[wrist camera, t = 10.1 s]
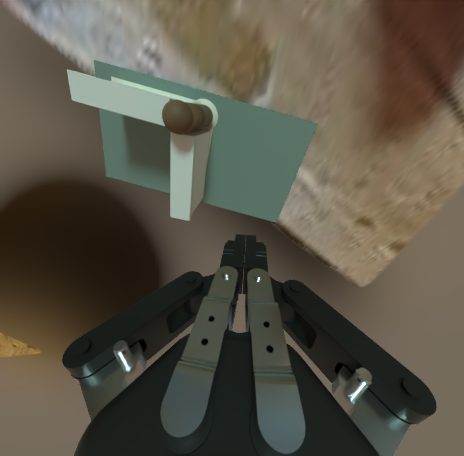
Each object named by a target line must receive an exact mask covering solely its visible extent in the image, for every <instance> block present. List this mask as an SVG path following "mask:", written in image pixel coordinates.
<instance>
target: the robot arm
mask: <svg viewBox="0 0 464 456" xmlns="http://www.w3.org/2000/svg"><path fill="white" fill-rule="evenodd" d="M245 237H246V250H245ZM244 254H245V263H244ZM243 268H244V280H243ZM242 282H243V294H246V297H245V298H246V299H245V317H246V318H245V321H246V332H244V333H236V332H233V331H232V328H233V322H234V317H235V312H236V311H235V310H236V306H237V301H238V294H241V293H242ZM192 323H194V325H193V328H192V331H191V333H190V334H188V335H186V336H184V337H183V338H181V339H180V340H179V341H178V342H177V343H175V344H174V345H173V346H172V347H171V348H170V349H169V350H168V351H166V352H165V353H164V354H163V355H162V356H161V357H160V358H159V359H157V360H156V361H155V362H154V363H153V364H152V365H151V366H150V367H148V368H147V369H146V370H145V368H146V363H147V362H146V361H147V360H149V359H150V358H151V357H152V356H153V355H155V354H156V353H157V352H158V351H159V350H161V349H162V348H163V347H164V346H166V345H167V344H168V343H169V342H171V341H172V340H173V339H174V338H175V337H177V336H178V335H179V334H180V333H182V332H183V331H184V330H185V329H186V328H187V327H189V326H190V325H191V324H192ZM283 329H284V330H285V331H286V332H287V333H288V334H289V335H290V337H291V338H292V339H293V340H294V341H295V342H296V343H297V344H298V346H299V347H300V348H301V349H302V350H303V351H304V352H305V353H306V355H307V356H308V357H309V358H310V359H311V360H312V361H313V362H314V363H315V365H316V366H317V367H318V368H319V369H320V370H321V372H322V373H323V374H324V375H325V376H326V377H327V378H328V379H329V381H330V382H331V383H332V392H333V395H334V397H333V396H332V394H331V393H330V392H329V391H328V390H327V388H326V387H325V386H324V385H323V384H322V382H321V381H320V380H319V379H318V377H317V376H316V375H315V374H314V372H313V371H312V370H311V369H310V367H309V366H308V365H307V364H306V362H305V361H304V360H303V359H302V358H301V356H300V355H299V354H298V353H297V352H296V351H295V350H294V349H293V348H292V347H291V346H290V345H288V344H287V343H286V340H285V335H284V330H283ZM62 362H63V364H64V366H65V367H66V368H67V369H68V371H70V373H71V376H72V377H73V378H74V379H75V380H76V381H77V383H79V385H80V386H81V389H82V393H83V396H84V399H85V402H86V405H87V408H88V412H89V415H90V418H91V423H90V424H89V425H88V427H87V429H86V430H85V432H84V434H83V435H82V437H81V439H80V441H79V444H78V446H77V449H76V451H75V454H74V456H393V454H394V452H395V451H396V449H397V447H398V445H399V444H400V442H401V440H402V439H403V437H404V435H405V433H406V432H407V431H408V430H409V429H411V428H412V427H414V426H415V425H417V424H419V423H420V422H421V421H423V420H425V419H426V418H428V417H429V416H431V415H432V414H434V413H435V411H436V401H435V399H434V396H433V394H432V393H431V391H430V390H429V388H428V387H427V386H426V385H425V384H424V383H423V382H422V381H421V380H420V379H419V378H418V377H417V376H415V375H414V374H413V373H412V372H410V371H409V370H408V369H407V368H406V367H404V366H403V365H402V364H401V363H399V362H398V361H397V360H396V359H395V358H393V357H392V356H391V355H390V354H388V353H387V352H386V351H385V350H383V349H382V348H381V347H380V346H379V345H378V344H376V343H375V342H374V341H373V340H371V339H370V338H369V337H368V336H366V335H365V334H364V333H363V332H362V331H360V330H359V329H357V327H355V326H354V325H353V324H352V323H351V322H349V321H348V320H347V319H346V318H344V317H343V316H342V315H341V314H340V313H338V312H337V311H336V310H335V309H333V308H332V307H331V306H330V305H328V304H327V303H326V302H325V301H324V300H322V299H321V298H320V297H319V296H318V295H316V294H315V293H314V292H313V291H311V290H310V289H309V288H308V287H307V286H305V285H304V284H303V283H301V282H299V281H296V280H288V281H286V282H285V283H281V282H278V281H276V280H274V279H273V278H271V277H270V275H269V274H268V266H267V253H266V247H265V245H264V244H263V243H259V242H256V235H240V234H236V238H235V241H230V240H228V242H227V243H226V244H225V246H224V251H223V255H222V259H221V264H220V268H219V269H218V270H217V271H216V273H215V274H213V275H210V276H205V277H202V275H201V274H200V273H198V272H195V271H192V272H187V273H185V274H183V275H181V276H180V277H178V278H176V279H175V280H173V281H172V282H170V283H168V284H167V285H165V286H163V287H162V288H160V289H158V290H157V291H155V292H154V293H152V294H150V295H149V296H147V297H145V298H144V299H142V300H140V301H139V302H137V303H135V304H134V305H132V306H130V307H129V308H127V309H126V310H124V311H122V312H121V313H119V314H117V315H116V316H114V317H112V318H111V319H109V320H107V321H106V322H104V323H103V324H101V325H99V326H98V327H96V328H94V329H93V330H91V331H89V332H88V333H86V334H84V335H83V336H81V337H80V338H78V339H76V340H75V341H74V342H73V343H72V344H71V345H70V346H69V347H68V348H67V349H66V351H65V353H64V355H63V359H62ZM144 370H145V371H144Z"/></svg>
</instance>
